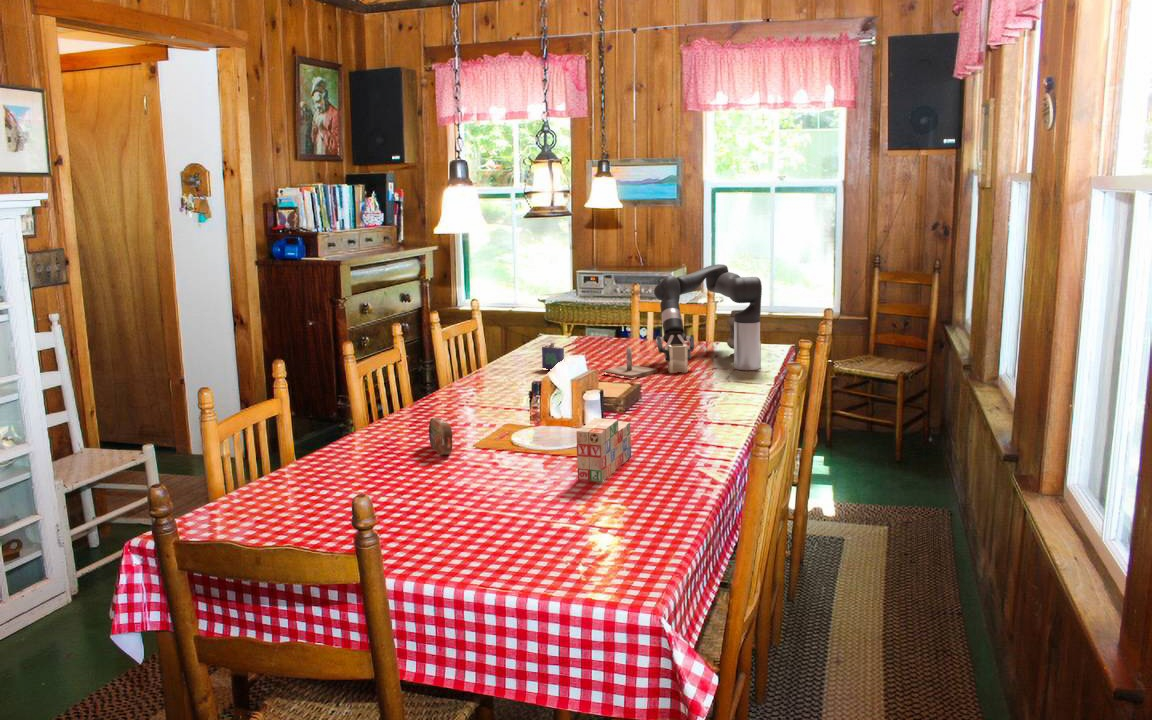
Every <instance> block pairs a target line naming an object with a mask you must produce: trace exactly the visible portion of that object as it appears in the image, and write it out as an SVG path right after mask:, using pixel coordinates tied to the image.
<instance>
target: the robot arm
mask: <svg viewBox="0 0 1152 720" xmlns="http://www.w3.org/2000/svg"><path fill="white" fill-rule="evenodd" d="M728 268H729V267H728V266H727V265H726V264H718V263H717V264H712V265H708V266H706V267H703V268H700V269H699V270H696V271H694V272H691V273H689V274H684V275H680V276H674V275H667V276H665V277H664V278H663V279H661V281H659V282H658V284H656V286H655V287H654V290H653V293H654V296H655V298H656V299H658V300H659V301H660V312H661V313H660V314H661V324H662V330H663V336H659V335H657V336H656V340H655V341H656V347H657V348H658V353H659V354H661V353H663V354H664V359H665V361H666V362H667V363H668V362H670V356H669V351H668V345H673V344H683V345H685V344H686V345H687V346H688V362H689V361H690V360H691V357H692V356H691V352H693V351H694V350H695V336H694V334H693V333H692V334H690V335H687V334H685V328H684V327H685V326H684V322H683V321H684V320H683V317H682V313H681V309H680V298H681V297H680V296H681V295H686V294H689V293H692V292H694V291H696V290H698V288H700V286H701V285H702V283H703V282H704V281H705V285H706V289H707V290H708V291H709V292H711V293H715V294H720V295H722V296H724V297H726V298H729V299H730V300H731V301H732V302H733V303H737V304H748V303H749V305H748V306H747V307H746V308H744V309H741V310H742V311H740V312H737V313H736V314H735V316H734V349H733V353H734V358H733V368H734V369H736V370H740V371H756V370H759V369H760V367H762V363H761V362H762V341H761V314H762V312H761V309H762V295H763V294H762V289H763V288H762V287H763V286H762V281H761V278H759V277H758V276H745V277H742V276H740V275H738V274H737V273H734V272H729V269H728ZM686 340H687V341H688V343H689V345H688V344H687V342H686ZM663 342H665V344H666V345H665V347H663Z"/></svg>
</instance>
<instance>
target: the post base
mask: <svg viewBox="0 0 1152 720" xmlns="http://www.w3.org/2000/svg"><path fill="white" fill-rule="evenodd" d="M632 355H633V353H632V347H626V364H623V365H620V366H616V367H612V368H608V369H605V370H601V373H602V372H606V373H611V374H615V375H619V376H624V377H629V378H634V377H640V378H642V377H641V376H644V377H647V376H646V375H648V376H651V375H650V374H652V375H654V374H653V373H656V374H658V369H657V368H651V367H646V366H639V365H633V364H632V363H633V357H632Z"/></svg>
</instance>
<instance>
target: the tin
mask: <svg viewBox="0 0 1152 720" xmlns="http://www.w3.org/2000/svg"><path fill="white" fill-rule="evenodd" d="M428 436H429V443H430V447H431V449H432V448H433V449H432V450H433V451H435V452H436V453H437V454H438V455H439V456H447V455H451V454H452V451H453V430H452V427H451V425H450V424H449V423H448V422H447V421H445V419H443V418H441V417H437V418H436V417H435V418H434V417H432V418H430V420H429V424H428Z"/></svg>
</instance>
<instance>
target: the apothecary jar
mask: <svg viewBox="0 0 1152 720" xmlns="http://www.w3.org/2000/svg"><path fill="white" fill-rule="evenodd" d="M742 310H743V309H734V310H731V312H730V315H729V316H728V317H727V319H726V322H727V324H728V325H729V331H730V332H729V334H730V335H729V337H728V339H727V341H726V345H727V346H728V347H729V348H730V349H732V350H734V316H735V314H736V313H737V312H740V311H742ZM730 356H731V357H734V352H733V353H731V354H730V355H729V357H730ZM731 357H730V358H731Z"/></svg>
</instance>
